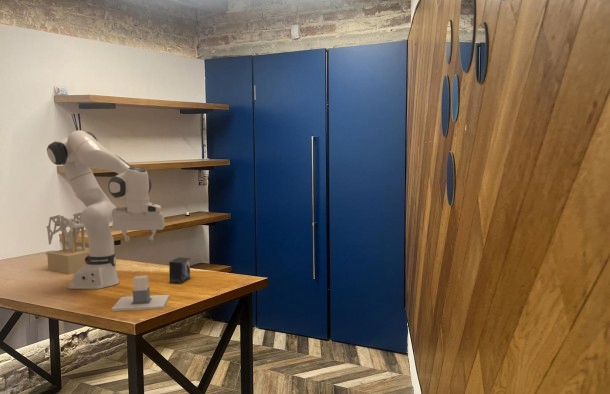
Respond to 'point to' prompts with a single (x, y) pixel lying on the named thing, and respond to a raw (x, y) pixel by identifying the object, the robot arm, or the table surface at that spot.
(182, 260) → the small box
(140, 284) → the off-white block
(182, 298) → the table surface
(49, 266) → the kinetic sculpture
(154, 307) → the plate
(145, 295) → the slate block
